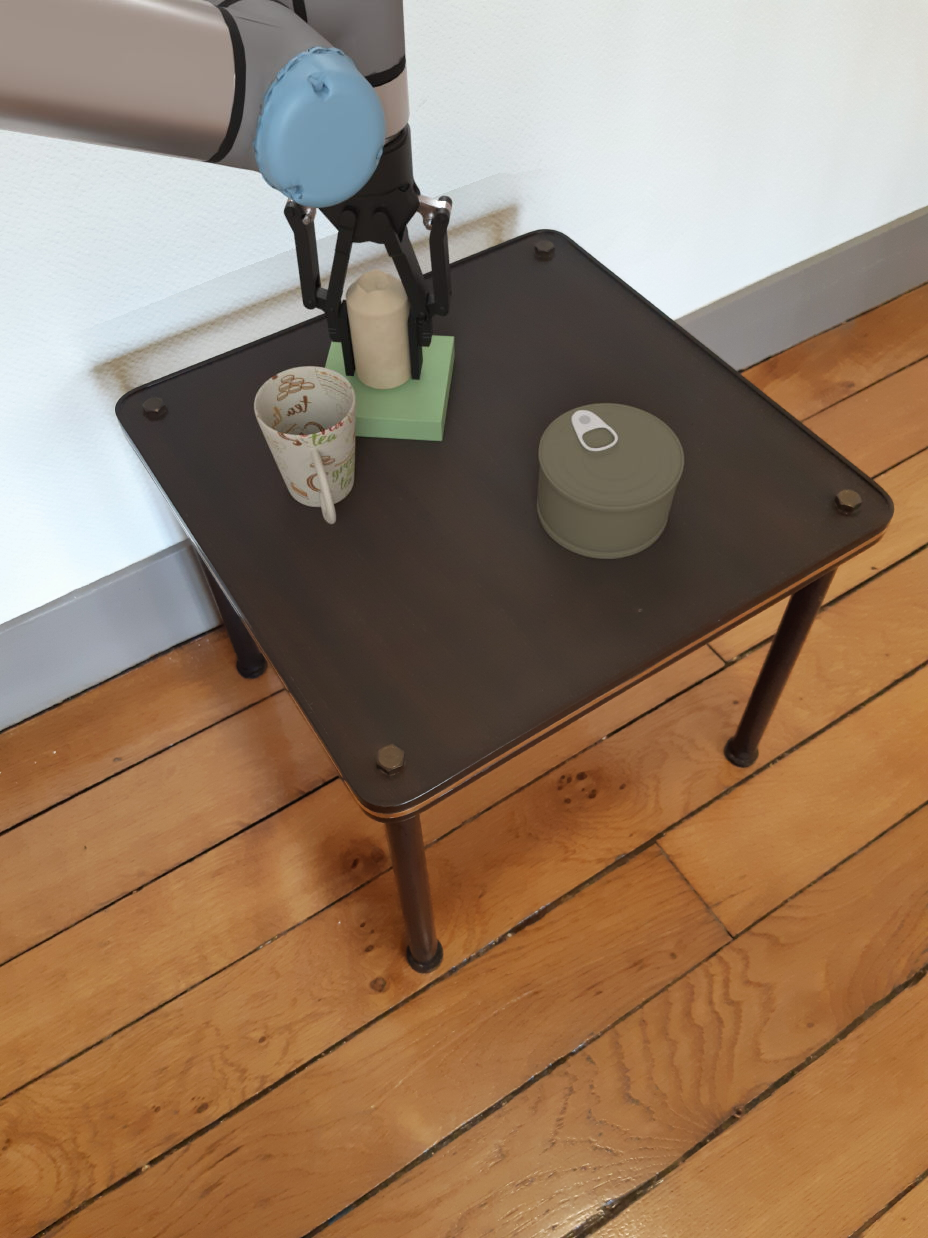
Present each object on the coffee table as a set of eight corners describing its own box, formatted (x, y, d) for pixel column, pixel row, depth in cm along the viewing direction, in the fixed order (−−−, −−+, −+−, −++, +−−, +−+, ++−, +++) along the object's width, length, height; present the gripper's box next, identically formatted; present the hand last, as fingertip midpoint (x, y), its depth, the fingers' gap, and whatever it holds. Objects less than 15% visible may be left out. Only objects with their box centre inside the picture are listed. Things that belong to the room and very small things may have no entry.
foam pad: (316, 433, 89) (312, 414, 87) (337, 349, 96) (334, 329, 94) (442, 441, 88) (441, 421, 86) (454, 356, 95) (454, 336, 93)
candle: (420, 383, 88) (414, 292, 80) (363, 395, 88) (351, 304, 79) (405, 346, 91) (398, 255, 83) (350, 357, 91) (337, 266, 82)
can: (575, 580, 79) (583, 527, 73) (511, 484, 85) (513, 428, 79) (696, 532, 82) (713, 477, 76) (625, 442, 88) (636, 386, 82)
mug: (353, 440, 88) (341, 356, 80) (390, 539, 82) (380, 458, 73) (266, 461, 87) (244, 378, 79) (296, 563, 80) (276, 484, 72)
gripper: (487, 102, 72) (485, 347, 91) (248, 93, 73) (296, 337, 92) (479, 156, 68) (478, 400, 87) (226, 146, 69) (280, 389, 88)
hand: (384, 367), depth 89 cm, fingers closed on candle, 5 cm apart
